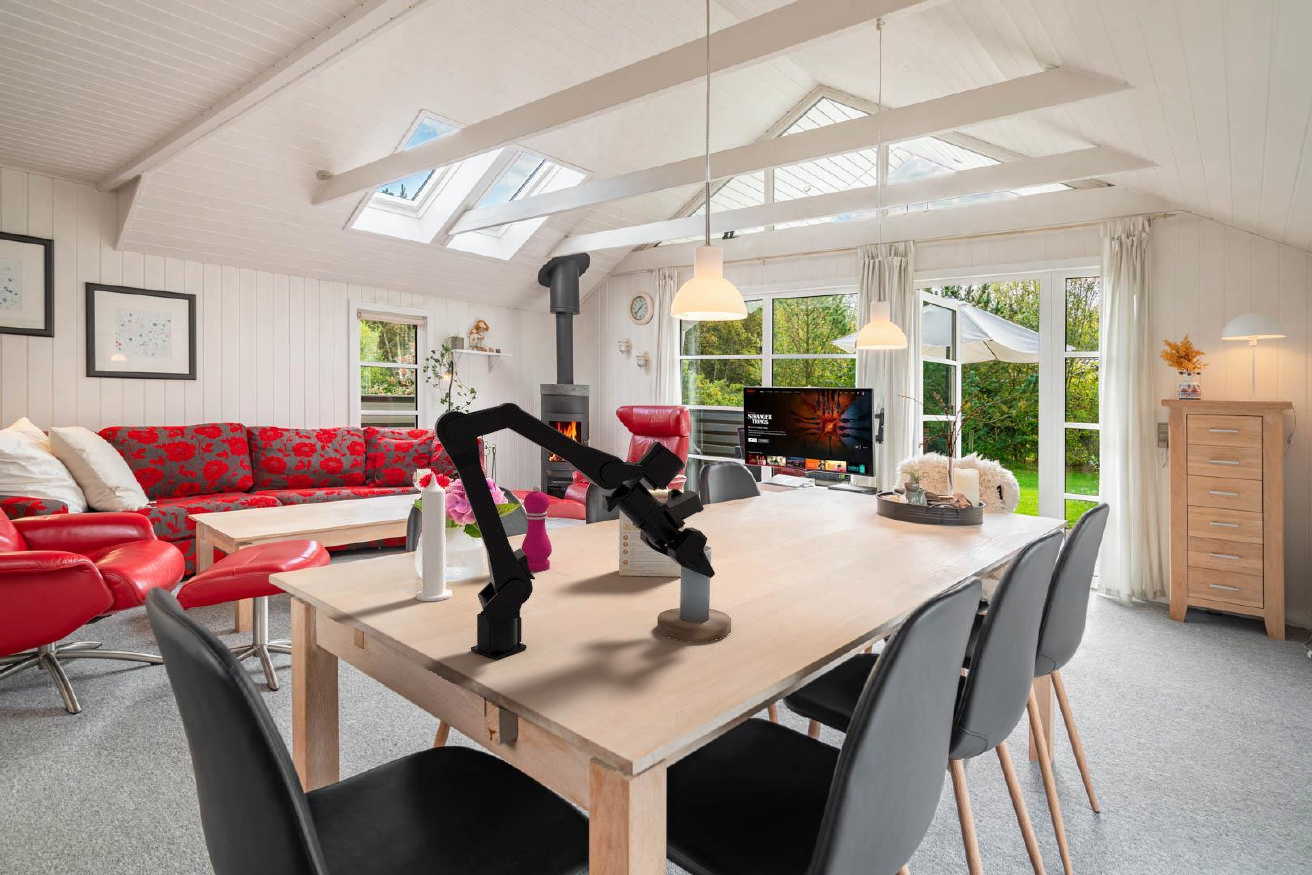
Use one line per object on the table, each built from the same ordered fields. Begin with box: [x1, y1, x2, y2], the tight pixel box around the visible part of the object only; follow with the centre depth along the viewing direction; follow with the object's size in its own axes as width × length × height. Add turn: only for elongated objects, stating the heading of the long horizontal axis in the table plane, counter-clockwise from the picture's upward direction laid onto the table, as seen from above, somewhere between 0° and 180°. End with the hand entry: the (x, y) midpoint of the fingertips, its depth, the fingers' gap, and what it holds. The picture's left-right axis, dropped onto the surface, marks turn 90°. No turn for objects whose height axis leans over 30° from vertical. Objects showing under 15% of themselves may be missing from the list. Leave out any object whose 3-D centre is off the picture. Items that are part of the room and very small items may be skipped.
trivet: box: [656, 607, 732, 643], centre depth 124 cm, size 13×13×2 cm
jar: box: [679, 545, 712, 623], centre depth 124 cm, size 5×5×12 cm
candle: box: [415, 473, 453, 602], centre depth 142 cm, size 7×7×25 cm
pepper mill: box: [520, 484, 553, 572], centre depth 167 cm, size 7×7×20 cm
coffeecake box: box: [618, 488, 685, 578], centre depth 164 cm, size 15×7×20 cm, turn 88°
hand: (702, 569), depth 124 cm, fingers open, 9 cm apart
